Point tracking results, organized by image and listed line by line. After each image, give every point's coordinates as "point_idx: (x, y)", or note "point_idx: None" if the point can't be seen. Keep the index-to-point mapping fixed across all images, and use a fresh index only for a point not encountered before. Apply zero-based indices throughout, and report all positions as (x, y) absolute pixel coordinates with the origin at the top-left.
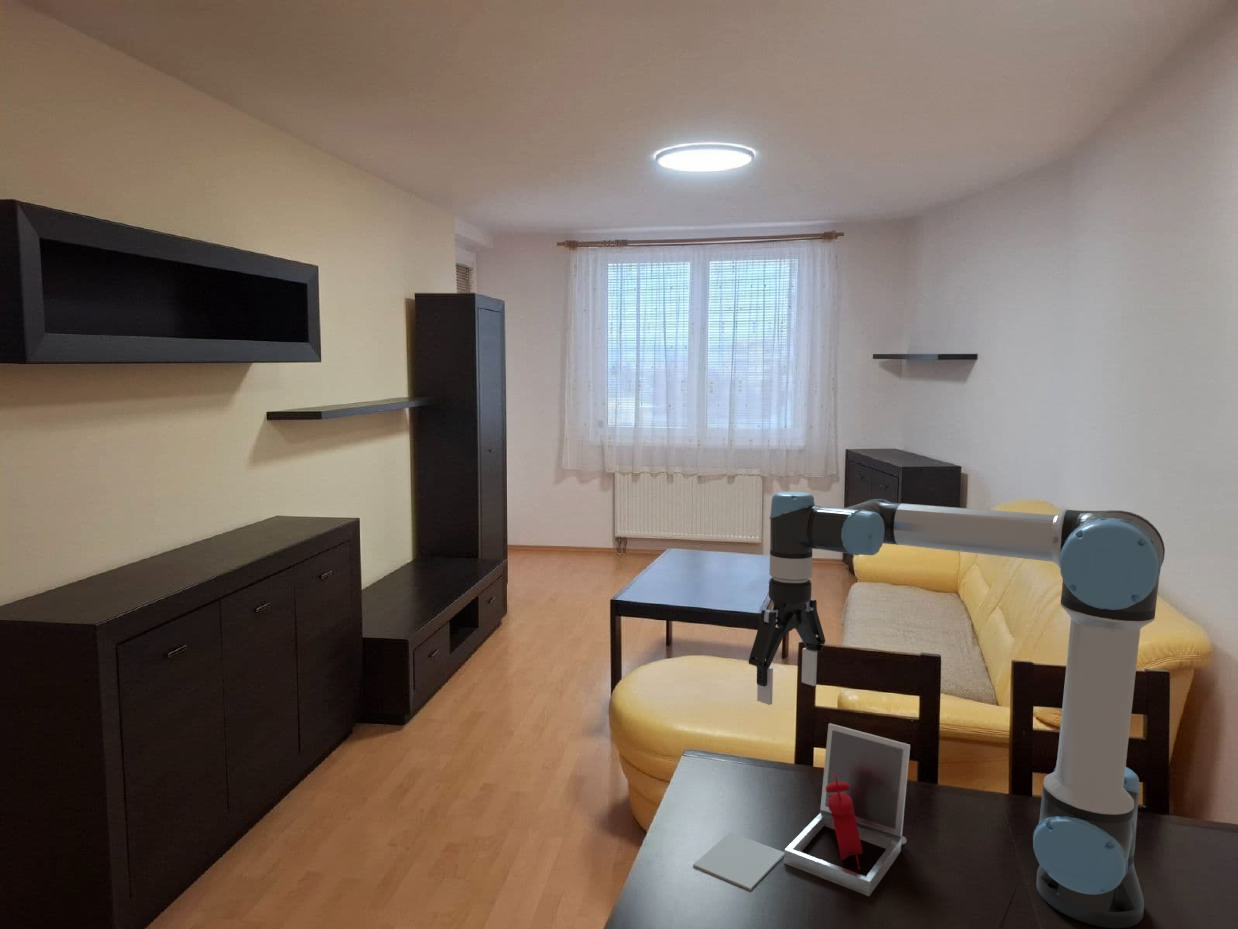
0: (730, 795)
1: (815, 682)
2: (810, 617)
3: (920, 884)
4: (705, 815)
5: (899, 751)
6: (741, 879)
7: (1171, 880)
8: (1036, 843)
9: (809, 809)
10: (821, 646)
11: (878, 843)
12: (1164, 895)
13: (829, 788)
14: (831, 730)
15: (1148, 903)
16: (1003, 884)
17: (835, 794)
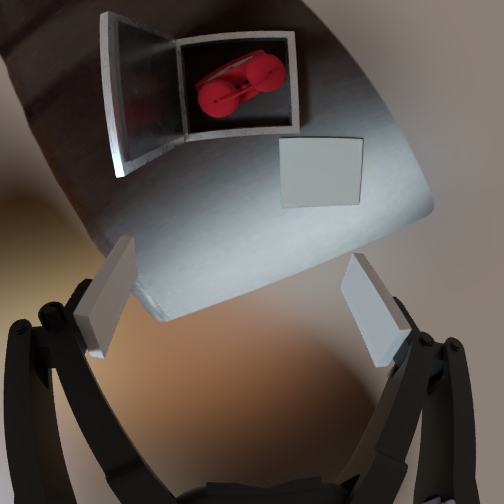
0: (206, 252)
1: (121, 240)
2: (51, 475)
3: (227, 4)
4: (264, 247)
5: (120, 25)
6: (355, 153)
7: None
8: None
9: (163, 169)
10: (46, 317)
11: (183, 64)
12: None
13: (237, 104)
14: (128, 164)
15: None
16: None
17: (263, 82)
